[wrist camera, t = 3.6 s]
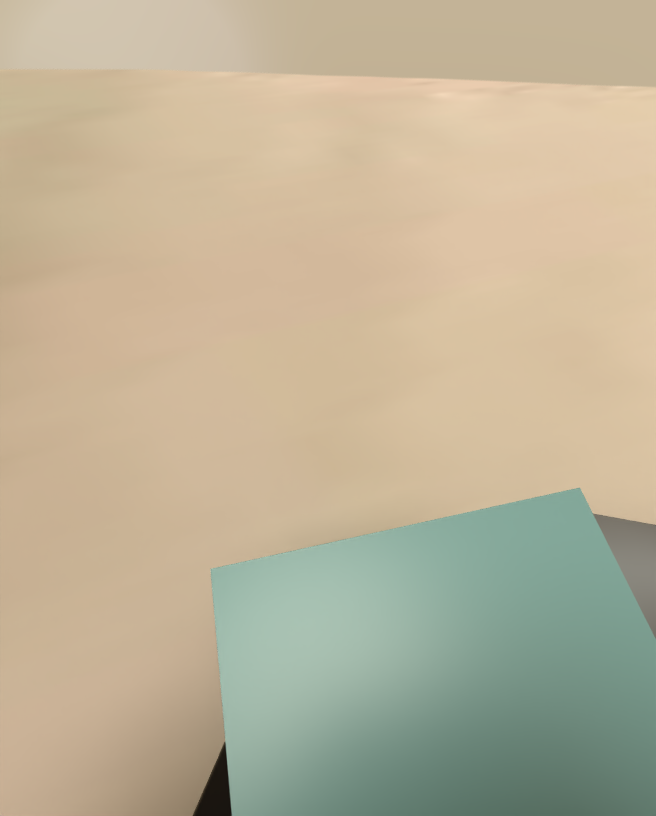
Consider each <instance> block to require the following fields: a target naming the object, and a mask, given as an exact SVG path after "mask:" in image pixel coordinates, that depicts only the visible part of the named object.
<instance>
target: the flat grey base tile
mask: <svg viewBox="0 0 656 816" xmlns="http://www.w3.org/2000/svg"><path fill="white" fill-rule="evenodd" d="M593 515H594V517H595V519H596V521H597V523H598V525H599V527H600V529H601V531H602V533H603V535H604V537H605V539H606V541H607V543H608V545H609V547H610V549H611V551H612V553H613V555H614V557H615V559H616V561H617V563H618V565H619V567H620V569H621V571H622V573H623V575H624V577H625V579H626V581H627V583H628V585H629V587H630V589H631V591H632V593H633V595H634V597H635V599H636V601H637V603H638V605H639V607H640V609H641V611H642V613H643V615H644V617H645V619H646V621H647V623H648V625H649V627H650V629H651V631H652V633H653V635H654V637H655V639H656V525H653V524H647V523H641V522H636V521H630V520H625V519H619V518H614V517H608V516H603V515H597V514H593Z"/></svg>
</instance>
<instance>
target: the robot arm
mask: <svg viewBox="0 0 656 816" xmlns="http://www.w3.org/2000/svg"><path fill="white" fill-rule="evenodd" d="M193 816H232V811H231V799H230V788H229V776H228V765H227V753H226V742H224V745H223V747H222V749H221V752H220V754H219V756H218V759H217V761H216V763H215V765H214V768H213V770H212V772H211V775H210V777H209V779H208V782H207V784H206V786H205V788H204V791H203V793H202V795H201V798H200V800H199V802H198V805H197V807H196V809H195V812H194V814H193Z"/></svg>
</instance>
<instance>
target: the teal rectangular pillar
mask: <svg viewBox="0 0 656 816" xmlns="http://www.w3.org/2000/svg"><path fill="white" fill-rule="evenodd" d="M211 580H212V592H213V603H214V615H215V626H216V638H217V650H218V661H219V673H220V684H221V696H222V707H223V719H224V730H225V742H226V753H227V765H228V776H229V788H230V799H231V811H232V816H656V639H655V637H654V635H653V633H652V631H651V629H650V627H649V625H648V623H647V621H646V619H645V617H644V615H643V613H642V611H641V609H640V607H639V605H638V603H637V601H636V599H635V597H634V595H633V593H632V591H631V589H630V587H629V585H628V583H627V581H626V579H625V577H624V575H623V573H622V571H621V569H620V567H619V565H618V563H617V561H616V559H615V557H614V555H613V553H612V551H611V549H610V547H609V545H608V543H607V541H606V539H605V537H604V535H603V533H602V531H601V529H600V527H599V525H598V523H597V521H596V519H595V517H594V515H593V513H592V511H591V509H590V507H589V505H588V503H587V501H586V499H585V497H584V495H583V493H582V491H581V489H580V488H576V489H572V490H567V491H563V492H558V493H553V494H549V495H544V496H540V497H535V498H531V499H526V500H522V501H517V502H513V503H508V504H504V505H499V506H494V507H490V508H485V509H481V510H476V511H472V512H467V513H463V514H458V515H454V516H449V517H444V518H440V519H435V520H431V521H426V522H422V523H417V524H413V525H408V526H404V527H399V528H394V529H390V530H385V531H381V532H376V533H372V534H367V535H363V536H358V537H354V538H349V539H345V540H340V541H335V542H331V543H326V544H322V545H317V546H313V547H308V548H304V549H299V550H295V551H290V552H285V553H281V554H276V555H272V556H267V557H263V558H258V559H254V560H249V561H245V562H240V563H236V564H231V565H226V566H222V567H217V568H213V569H211Z"/></svg>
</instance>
